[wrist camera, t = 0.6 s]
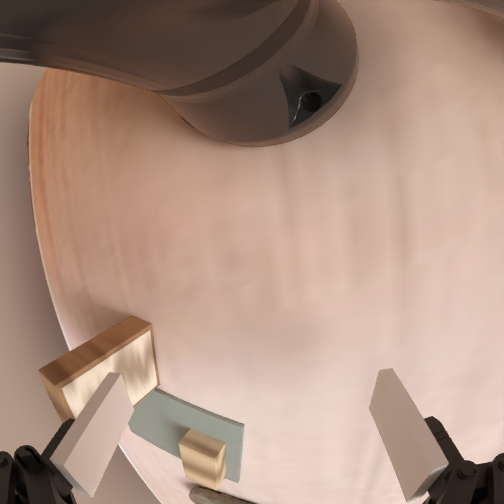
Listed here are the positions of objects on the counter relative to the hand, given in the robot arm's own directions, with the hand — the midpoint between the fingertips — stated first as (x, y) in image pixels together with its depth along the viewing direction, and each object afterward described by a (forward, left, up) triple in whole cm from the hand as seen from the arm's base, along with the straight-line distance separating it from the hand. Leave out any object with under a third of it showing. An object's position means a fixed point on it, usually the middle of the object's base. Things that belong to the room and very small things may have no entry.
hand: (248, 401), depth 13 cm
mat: (+23, -14, -11) cm, 29 cm away
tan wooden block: (+25, -8, -10) cm, 28 cm away
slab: (+10, -17, -11) cm, 22 cm away
